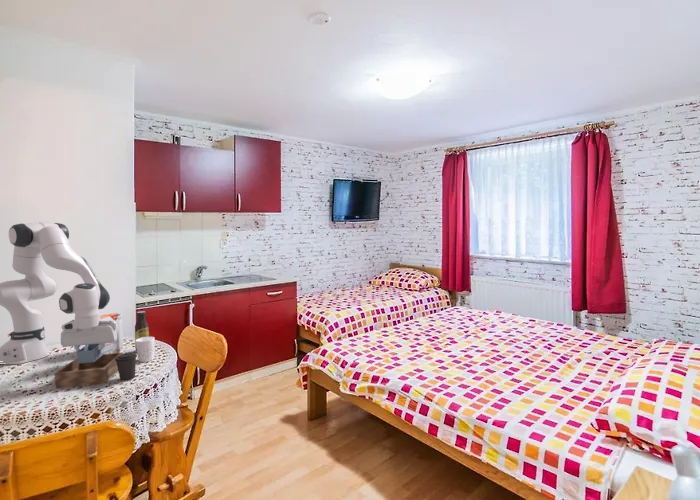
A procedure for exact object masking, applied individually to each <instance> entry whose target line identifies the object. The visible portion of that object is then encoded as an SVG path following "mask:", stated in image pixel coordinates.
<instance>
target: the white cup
mask: <svg viewBox="0 0 700 500" xmlns="http://www.w3.org/2000/svg"><path fill="white" fill-rule="evenodd" d="M155 339H156V338H155V337H154V336H149V337H142V338H139V339H137V340H136V348H137V352H136V355H137V359H138V361H137V362H140V363H147V362H150V361H153V360H154V359H155V351H156V350H155V347H156V345H155V344H156V343H155ZM136 348H135V349H136Z"/></svg>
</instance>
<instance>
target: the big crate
mask: <svg viewBox="0 0 700 500" xmlns="http://www.w3.org/2000/svg"><path fill="white" fill-rule="evenodd" d="M123 354H124V352H120V353H111V354H104V355H102V356H101V357H100V358H98V359H97V360H96V361H95V362H90V363H80V364H77V357H76V358H74V359H73V360H72V361H70V362H69V363H67V364H65V366H63V367H61V368H60V369H59V370H57V371H56V372H54V384H55V389H61V388H62V389H63V388H72V387H80V386H89V385H102V384H107V383H108V382H109V381H110V380H111V379H112V378H113V377H114V376H115V375H116V374H117V373H119V372H118V367H117V362H116V361H115V358H116V357H118V356H120V355H123Z"/></svg>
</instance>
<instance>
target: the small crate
mask: <svg viewBox="0 0 700 500" xmlns="http://www.w3.org/2000/svg"><path fill="white" fill-rule="evenodd" d="M100 348H101V346H100V344H90V345H86V346H85V345H83V347H80V350H78V351H76V358H77V364H80V363H90V362H95V361H96V360H97V359H98V358H100V357H101V356H102V355H104V349H103V353H102V354H98V350H99V349H100Z"/></svg>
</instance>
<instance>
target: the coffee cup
mask: <svg viewBox="0 0 700 500" xmlns="http://www.w3.org/2000/svg"><path fill="white" fill-rule="evenodd" d="M137 358H138V355H137V353H133V352H130V353H123V355H120V356H118V357H116V358H115V361H116V362H117V367H118V372H117V373H118V376H119V380H120V381H122V382H124V381H125V382H126V381H130V380H133V379H135V378H136V367H137V366H136V363H137Z"/></svg>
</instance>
